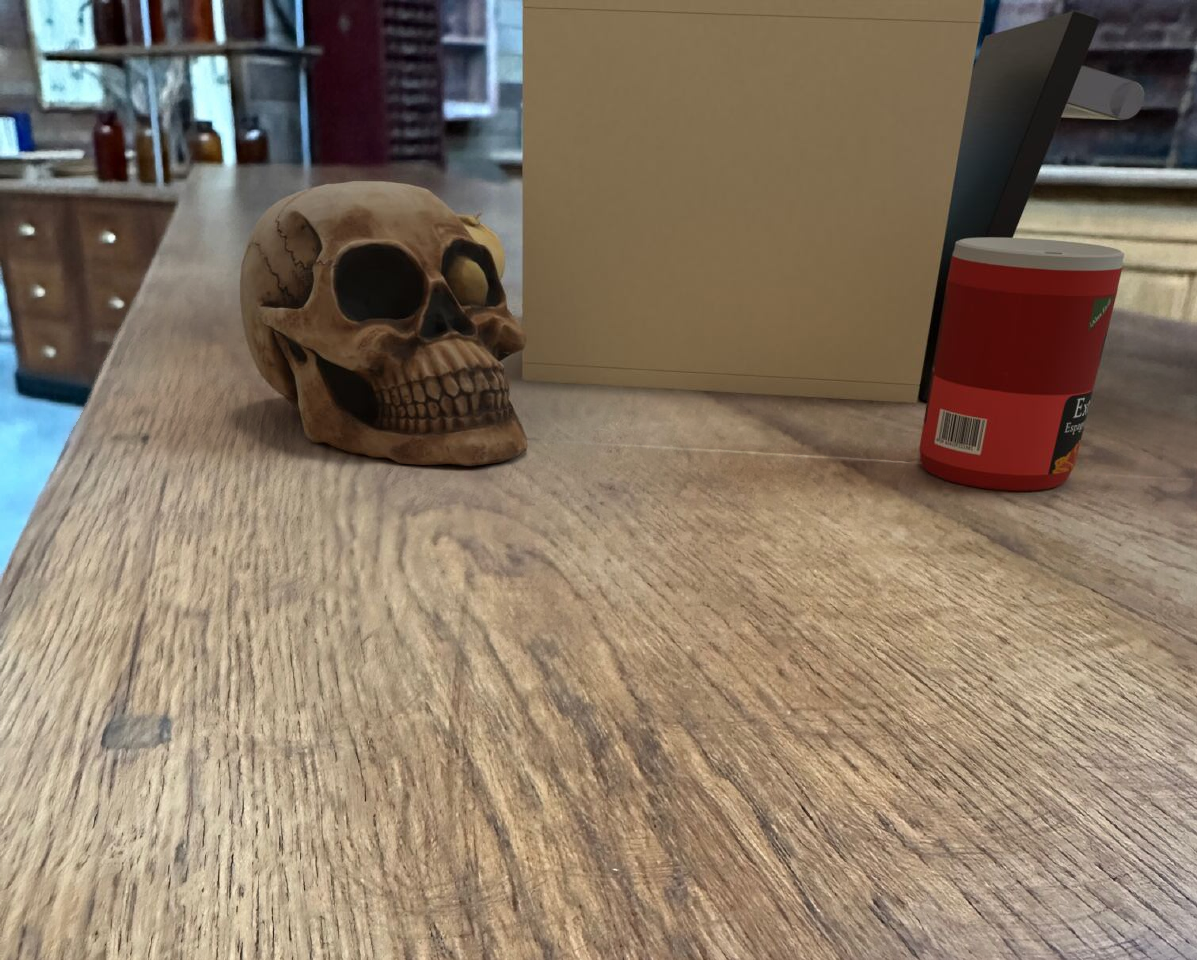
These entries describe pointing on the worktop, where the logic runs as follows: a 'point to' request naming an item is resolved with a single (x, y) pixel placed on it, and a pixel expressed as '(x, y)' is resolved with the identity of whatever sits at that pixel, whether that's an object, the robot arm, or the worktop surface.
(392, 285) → the brown skull
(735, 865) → the worktop surface
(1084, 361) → the canned food
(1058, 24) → the oven door
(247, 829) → the worktop surface
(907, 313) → the oven
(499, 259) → the onion
